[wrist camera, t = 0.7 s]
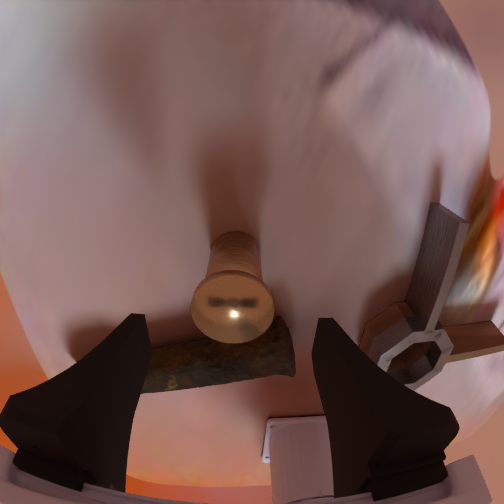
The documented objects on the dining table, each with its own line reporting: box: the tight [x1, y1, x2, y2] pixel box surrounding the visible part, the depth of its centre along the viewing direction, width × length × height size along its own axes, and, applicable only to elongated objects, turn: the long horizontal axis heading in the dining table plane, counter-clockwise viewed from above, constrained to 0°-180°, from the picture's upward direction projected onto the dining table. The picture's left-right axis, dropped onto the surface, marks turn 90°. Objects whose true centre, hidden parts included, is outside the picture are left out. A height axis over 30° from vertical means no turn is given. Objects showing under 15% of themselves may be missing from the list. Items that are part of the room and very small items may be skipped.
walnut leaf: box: [359, 302, 504, 371], centre depth 22 cm, size 6×14×4 cm, turn 88°
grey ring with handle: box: [368, 203, 469, 391], centre depth 20 cm, size 14×6×4 cm, turn 178°
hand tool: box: [141, 316, 296, 394], centre depth 22 cm, size 19×4×5 cm, turn 103°
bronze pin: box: [191, 231, 274, 343], centre depth 17 cm, size 4×4×6 cm
